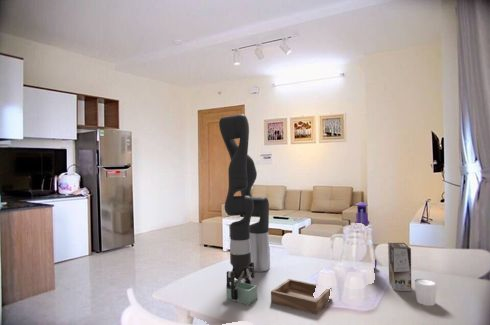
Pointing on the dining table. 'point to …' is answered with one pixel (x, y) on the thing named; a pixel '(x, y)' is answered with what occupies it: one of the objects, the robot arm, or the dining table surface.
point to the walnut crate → (299, 296)
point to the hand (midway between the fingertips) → (241, 295)
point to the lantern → (362, 216)
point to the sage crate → (244, 293)
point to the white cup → (426, 291)
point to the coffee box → (399, 266)
